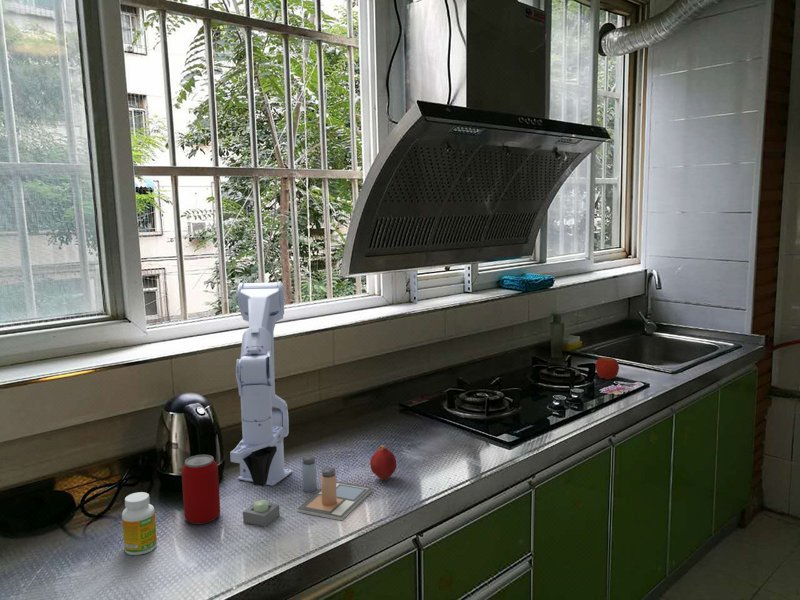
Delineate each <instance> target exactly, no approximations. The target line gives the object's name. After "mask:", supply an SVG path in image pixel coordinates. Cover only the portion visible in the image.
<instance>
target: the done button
mask: <svg viewBox="0 0 800 600" xmlns="http://www.w3.org/2000/svg"><path fill="white" fill-rule="evenodd" d="M268 502H269V501H268V500H265V499H261V500H257V501H255V502H253V504H254V511H257V512H262V513H264V512H265V511H266V510H267V509H269V507H268Z"/></svg>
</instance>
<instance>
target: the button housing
mask: <svg viewBox="0 0 800 600" xmlns="http://www.w3.org/2000/svg"><path fill="white" fill-rule="evenodd" d="M268 507H269V509H267V510H266V511H265V512H264V513H262V512H257V511H254V503H252V504H251V505H250V506H248V507H247V508H245V509H243V511H242V520H243V521H242V522H243V523H245V524H250V525H255V526H261V527H264V528H266V527H267V526H268V525H269V524H271V523H272V522H273V521H275V520H276V519H277V518H278V517H280V515H281V513H280V503H279V504H278V503H273V502H269V501H268Z"/></svg>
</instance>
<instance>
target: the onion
mask: <svg viewBox="0 0 800 600" xmlns="http://www.w3.org/2000/svg"><path fill="white" fill-rule="evenodd" d="M369 461H370V462H369V465H370V471H371V472H372V473H373V474H374V475H375V476H376V477H377V478H379V479H380V480H381V481H385V480H387V479H389V478H390V477H391V476H392V475H393V474H394V473H395V471H396V469H397V458H396V456H395V454H394V453H393V452H392V450H390V449H388V448H387V447H386V446H385V445H380V446H379V449H377V450H376V451H375V452H374V453H373V455H372V456H371V458H370V460H369Z"/></svg>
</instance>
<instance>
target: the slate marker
mask: <svg viewBox="0 0 800 600" xmlns="http://www.w3.org/2000/svg"><path fill="white" fill-rule="evenodd" d="M301 470H302V471H301V475H302V490H303V491H304V492H307V493H311V492H315V491H317V489H318V482H317V477H318V476H317V461H316V457H315V456H314V455H305V456H303V457H302V462H301Z"/></svg>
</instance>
